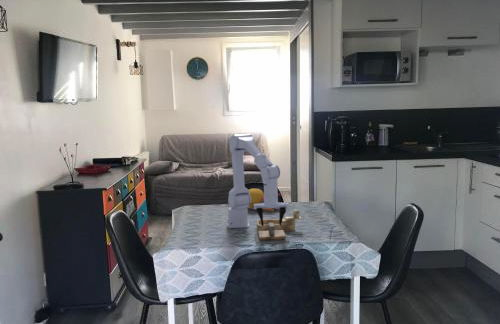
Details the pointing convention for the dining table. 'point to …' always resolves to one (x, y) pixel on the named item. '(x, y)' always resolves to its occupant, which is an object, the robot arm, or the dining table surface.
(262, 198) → the toy
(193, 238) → the dining table surface
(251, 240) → the dining table surface
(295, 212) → the beige piece
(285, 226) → the open wooden box
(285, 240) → the mat
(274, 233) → the lid
